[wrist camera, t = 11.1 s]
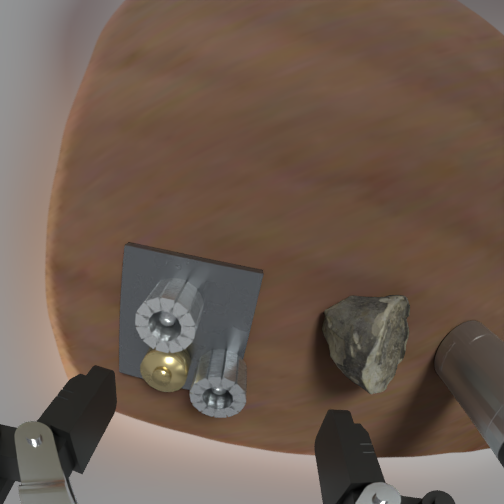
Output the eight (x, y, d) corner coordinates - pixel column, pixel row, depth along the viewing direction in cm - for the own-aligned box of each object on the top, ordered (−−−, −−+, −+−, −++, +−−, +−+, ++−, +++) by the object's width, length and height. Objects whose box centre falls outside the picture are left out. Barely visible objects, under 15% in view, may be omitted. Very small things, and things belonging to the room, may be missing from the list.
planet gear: (207, 284, 31) (199, 305, 27) (199, 332, 33) (191, 358, 28) (153, 272, 31) (137, 291, 26) (149, 320, 33) (134, 344, 28)
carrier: (263, 270, 32) (264, 288, 27) (233, 392, 36) (231, 420, 32) (129, 242, 32) (109, 255, 27) (122, 366, 36) (108, 390, 31)
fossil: (422, 341, 34) (418, 408, 26) (355, 354, 39) (337, 415, 32) (399, 268, 31) (394, 333, 24) (324, 288, 37) (297, 349, 29)
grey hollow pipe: (244, 348, 33) (243, 376, 29) (248, 387, 35) (247, 417, 30) (194, 349, 33) (185, 377, 29) (200, 388, 35) (194, 417, 30)
